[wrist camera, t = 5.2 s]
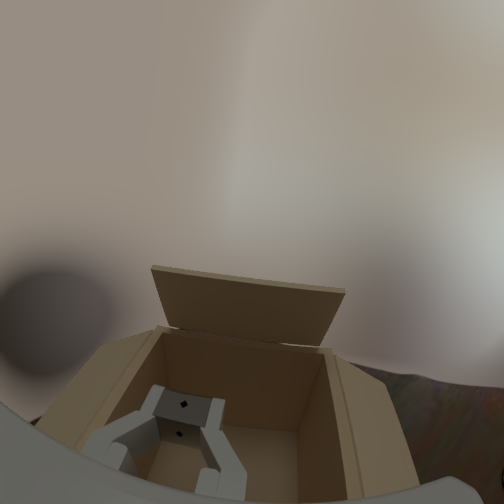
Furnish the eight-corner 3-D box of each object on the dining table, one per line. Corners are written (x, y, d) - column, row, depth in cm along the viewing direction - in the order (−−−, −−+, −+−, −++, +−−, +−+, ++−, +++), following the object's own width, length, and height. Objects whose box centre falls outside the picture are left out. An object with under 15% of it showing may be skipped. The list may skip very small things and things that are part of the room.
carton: (375, 587, 5) (477, 559, 1) (44, 531, 6) (-45, 468, 2) (353, 429, 25) (394, 348, 21) (121, 396, 26) (100, 310, 23)
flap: (345, 293, 16) (344, 288, 17) (150, 269, 17) (152, 264, 17) (319, 346, 21) (319, 342, 22) (169, 326, 22) (170, 322, 22)
